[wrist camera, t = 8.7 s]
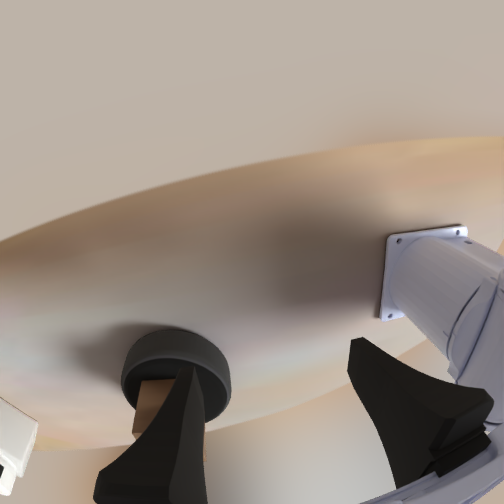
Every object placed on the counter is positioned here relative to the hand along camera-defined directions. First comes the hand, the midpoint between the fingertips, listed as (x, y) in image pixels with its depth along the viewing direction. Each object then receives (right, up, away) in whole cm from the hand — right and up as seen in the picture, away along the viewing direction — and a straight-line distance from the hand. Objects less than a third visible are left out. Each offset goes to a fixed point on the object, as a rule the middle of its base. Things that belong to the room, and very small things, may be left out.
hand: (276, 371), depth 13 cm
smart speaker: (-7, -4, +12) cm, 15 cm away
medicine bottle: (-32, -17, +13) cm, 38 cm away
